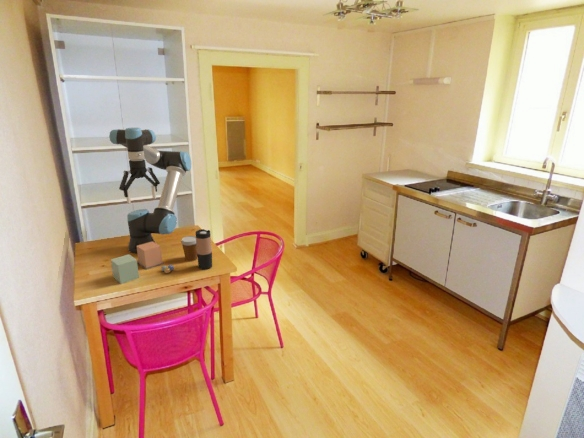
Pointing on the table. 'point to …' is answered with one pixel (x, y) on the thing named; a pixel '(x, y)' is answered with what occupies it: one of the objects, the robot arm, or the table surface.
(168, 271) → the marble amber
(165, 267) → the marble grey
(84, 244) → the table surface
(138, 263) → the coaster
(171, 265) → the marble blue
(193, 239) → the disposable coffee cup
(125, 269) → the rounded sage cube
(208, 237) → the travel mug
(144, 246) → the dusty pink cube
